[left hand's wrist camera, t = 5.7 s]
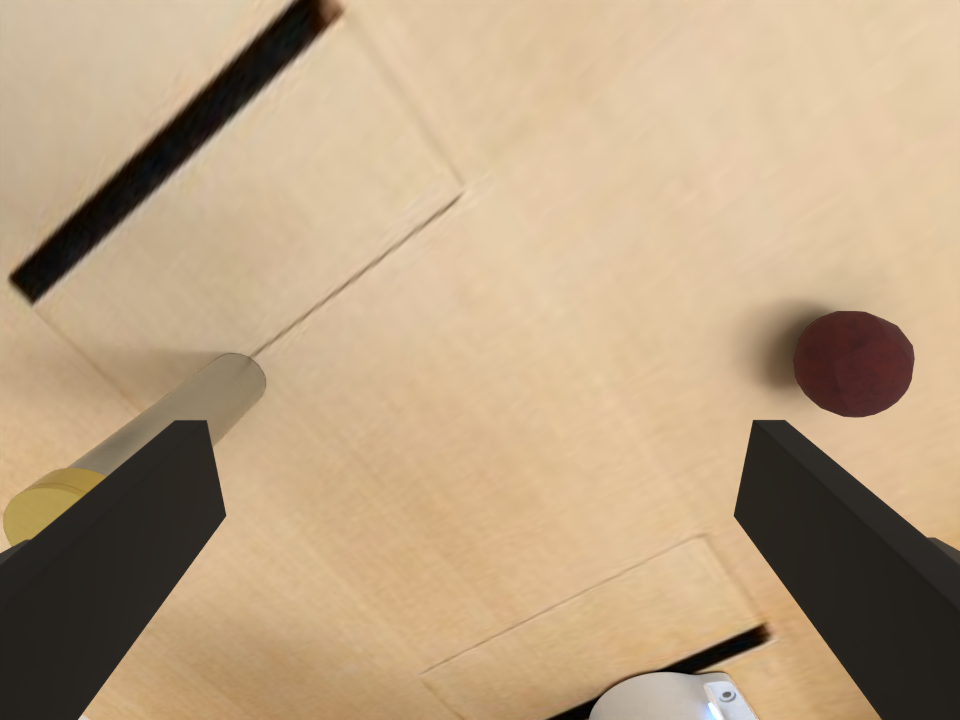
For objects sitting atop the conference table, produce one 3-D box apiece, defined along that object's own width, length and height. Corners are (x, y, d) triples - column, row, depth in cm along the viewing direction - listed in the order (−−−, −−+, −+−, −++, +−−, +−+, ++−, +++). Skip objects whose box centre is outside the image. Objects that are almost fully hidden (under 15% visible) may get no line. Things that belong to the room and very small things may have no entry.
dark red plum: (796, 407, 43) (853, 451, 36) (758, 332, 41) (812, 364, 34) (883, 360, 41) (960, 397, 35) (849, 280, 39) (924, 303, 33)
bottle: (256, 413, 43) (105, 579, 26) (202, 391, 43) (10, 546, 25) (273, 367, 42) (126, 510, 24) (218, 344, 41) (26, 473, 24)
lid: (126, 567, 27) (104, 593, 26) (24, 531, 26) (-6, 555, 25) (150, 491, 26) (128, 513, 24) (42, 451, 25) (12, 471, 23)
